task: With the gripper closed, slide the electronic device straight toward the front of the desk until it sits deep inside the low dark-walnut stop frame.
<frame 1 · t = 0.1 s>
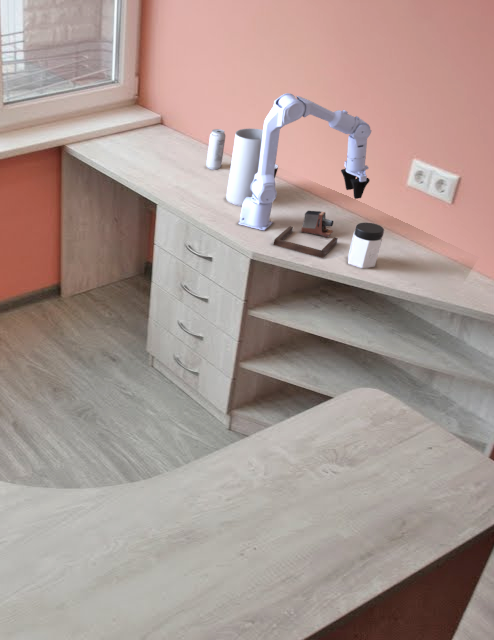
hand: (353, 193, 273), 10 cm above the table, tool pointing down, fingers open, 7 cm apart
energy drink can: (213, 168, 325), on the table
cylinder vase: (242, 201, 296), on the table
jar: (360, 263, 254), on the table
coffee mug: (260, 190, 305), on the table
stop frame: (305, 243, 265), on the table
electronic device: (316, 233, 272), on the table
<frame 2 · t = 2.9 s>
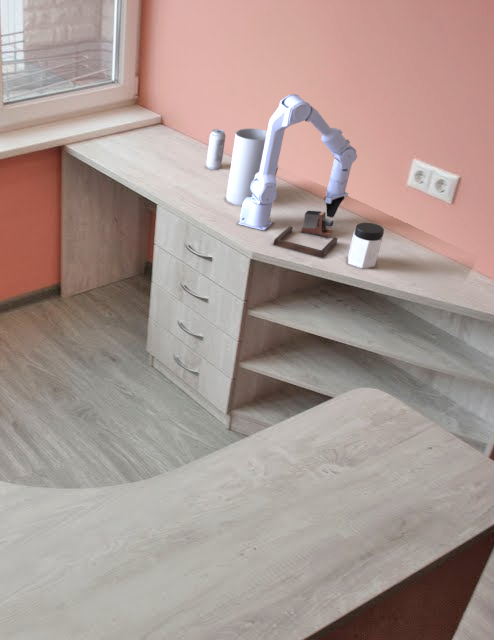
hand: (330, 216, 279), 2 cm above the table, tool pointing down, fingers closed
nothing on the table moved.
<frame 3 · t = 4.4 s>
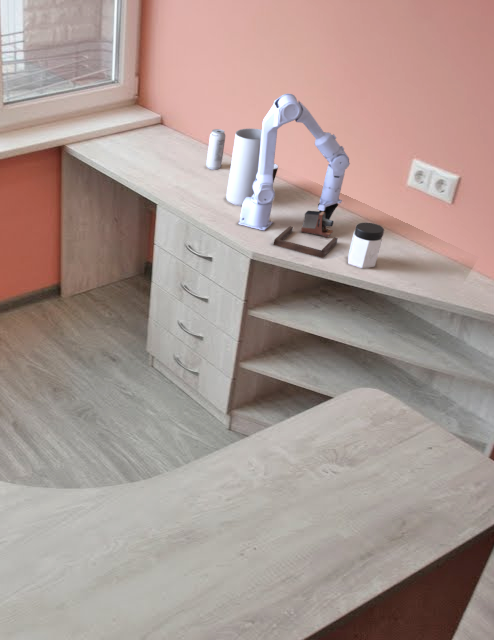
hand: (323, 223, 275), 1 cm above the table, tool pointing down, fingers closed
nothing on the table moved.
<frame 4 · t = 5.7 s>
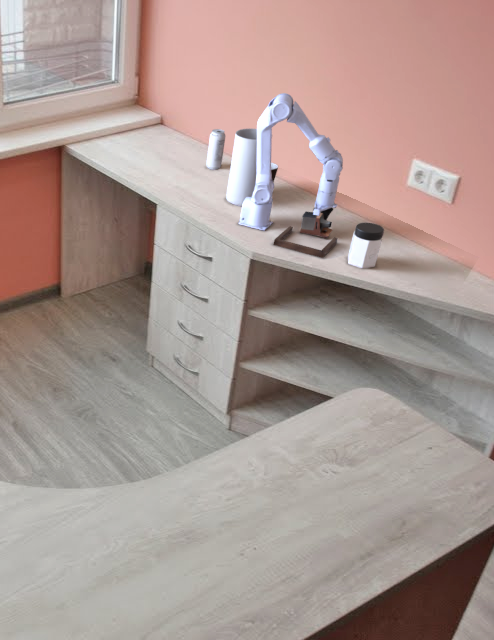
hand: (319, 228, 272), 2 cm above the table, tool pointing down, fingers closed, pressing on electronic device
electronic device: (315, 233, 271), on the table, touching gripper
everything else where it was.
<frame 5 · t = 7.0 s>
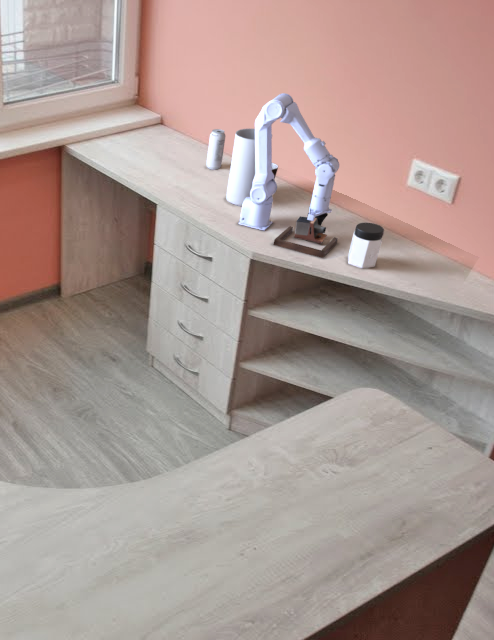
hand: (313, 233, 268), 2 cm above the table, tool pointing down, fingers closed, pressing on electronic device
electronic device: (310, 238, 268), on the table, touching gripper
everything else where it was.
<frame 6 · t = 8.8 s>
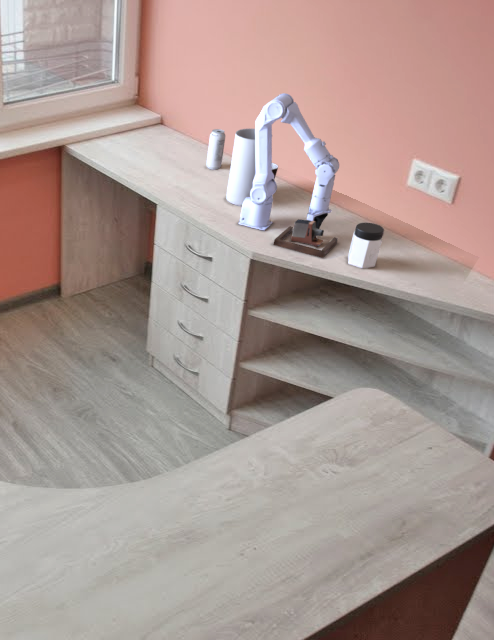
hand: (313, 233, 269), 1 cm above the table, tool pointing down, fingers closed
electronic device: (306, 243, 266), on the table
everything else where it was.
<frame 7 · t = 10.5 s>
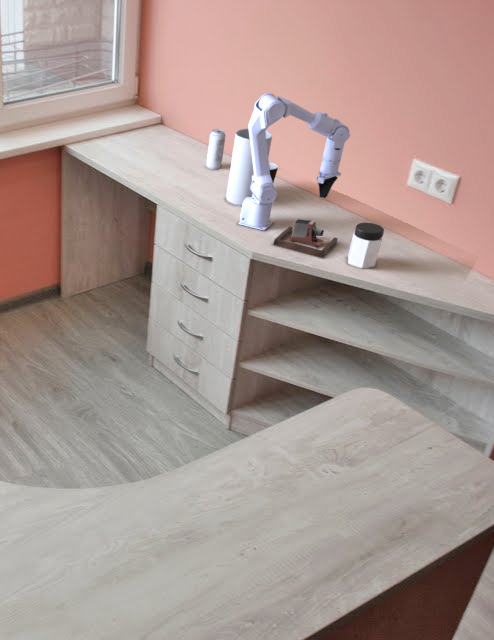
hand: (323, 197, 274), 9 cm above the table, tool pointing down, fingers closed
nothing on the table moved.
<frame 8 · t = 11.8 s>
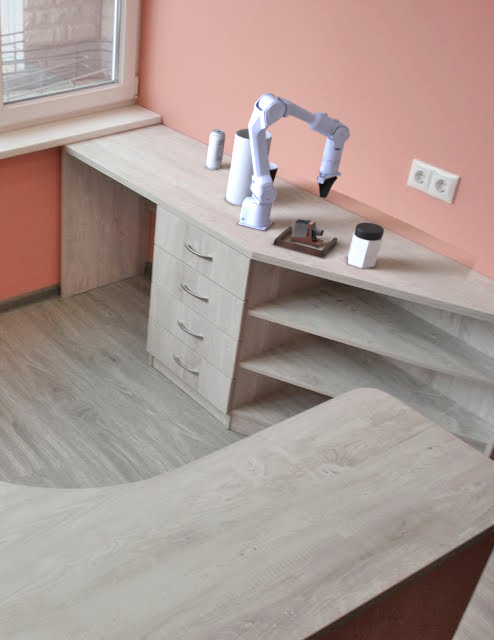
hand: (323, 197, 274), 9 cm above the table, tool pointing down, fingers closed
nothing on the table moved.
at the end: electronic device inside the target area on the stop frame (2.1 cm from its centre), point 0.0 cm above the stop frame's base; electronic device tilted 2°; electronic device moved 9.1 cm from its start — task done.
